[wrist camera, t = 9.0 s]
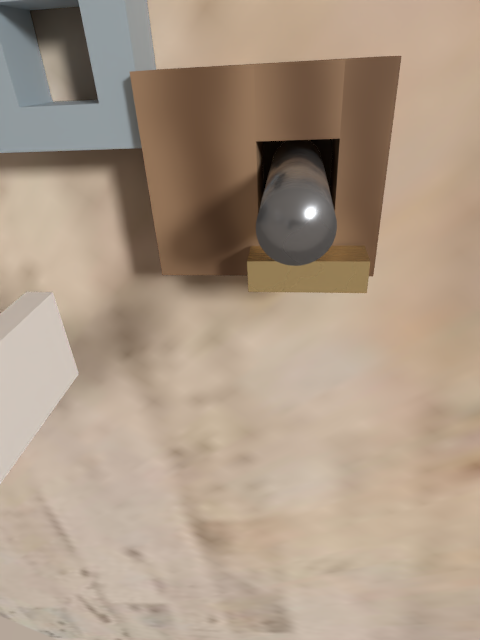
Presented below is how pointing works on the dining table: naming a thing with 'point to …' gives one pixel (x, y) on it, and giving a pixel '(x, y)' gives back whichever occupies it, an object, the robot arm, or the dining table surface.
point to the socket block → (258, 150)
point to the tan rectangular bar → (311, 272)
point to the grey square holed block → (108, 70)
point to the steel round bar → (296, 206)
